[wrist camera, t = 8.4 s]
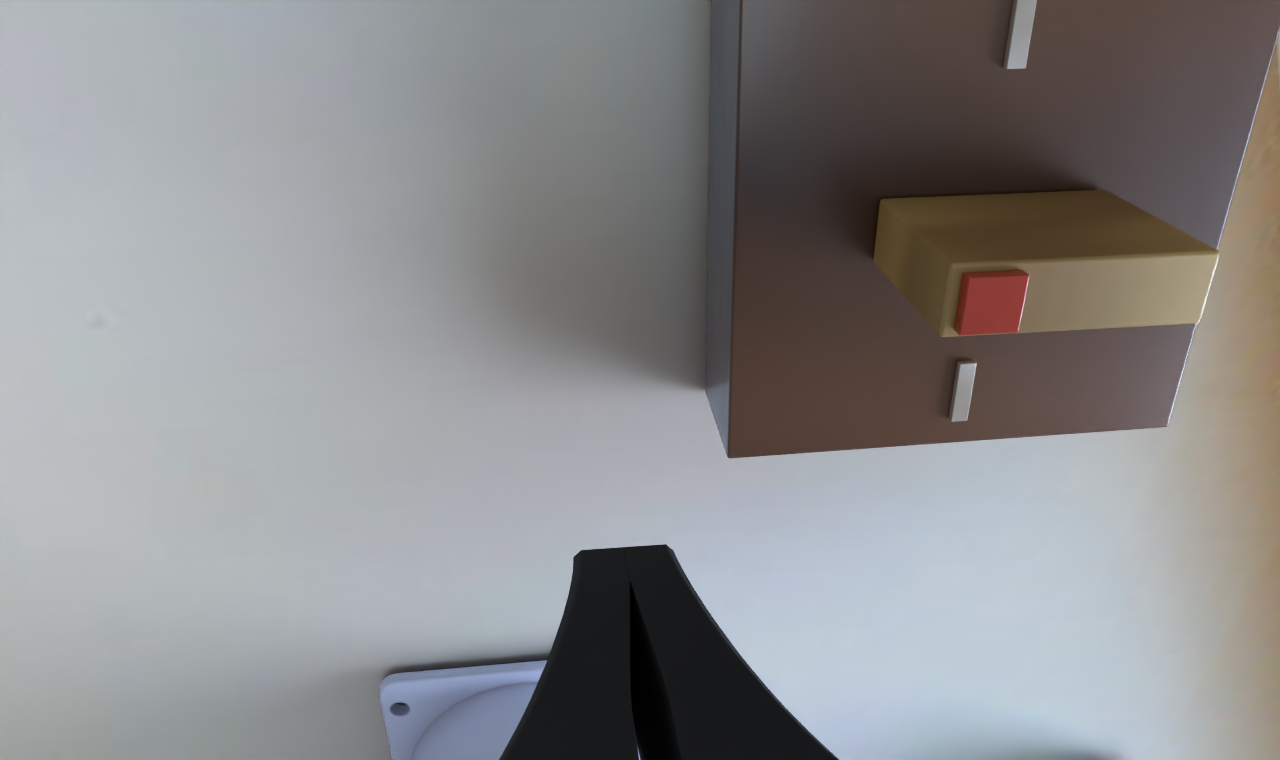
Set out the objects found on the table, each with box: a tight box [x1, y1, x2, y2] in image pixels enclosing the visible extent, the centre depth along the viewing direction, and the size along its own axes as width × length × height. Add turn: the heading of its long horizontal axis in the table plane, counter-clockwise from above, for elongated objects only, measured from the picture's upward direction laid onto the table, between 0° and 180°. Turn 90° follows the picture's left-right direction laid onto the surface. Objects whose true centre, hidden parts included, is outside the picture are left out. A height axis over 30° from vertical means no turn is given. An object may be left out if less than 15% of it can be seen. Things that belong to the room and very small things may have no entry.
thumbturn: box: [873, 190, 1220, 337], centre depth 17 cm, size 4×1×4 cm, turn 91°
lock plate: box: [706, 0, 1280, 458], centre depth 20 cm, size 10×10×3 cm
